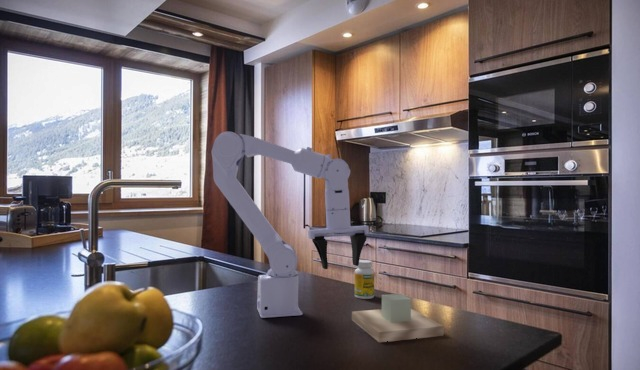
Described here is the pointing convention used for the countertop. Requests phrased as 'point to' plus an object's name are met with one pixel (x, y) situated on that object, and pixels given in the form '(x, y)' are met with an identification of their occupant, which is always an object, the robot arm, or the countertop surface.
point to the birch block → (396, 326)
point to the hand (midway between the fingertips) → (340, 266)
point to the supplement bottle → (364, 280)
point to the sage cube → (396, 308)
